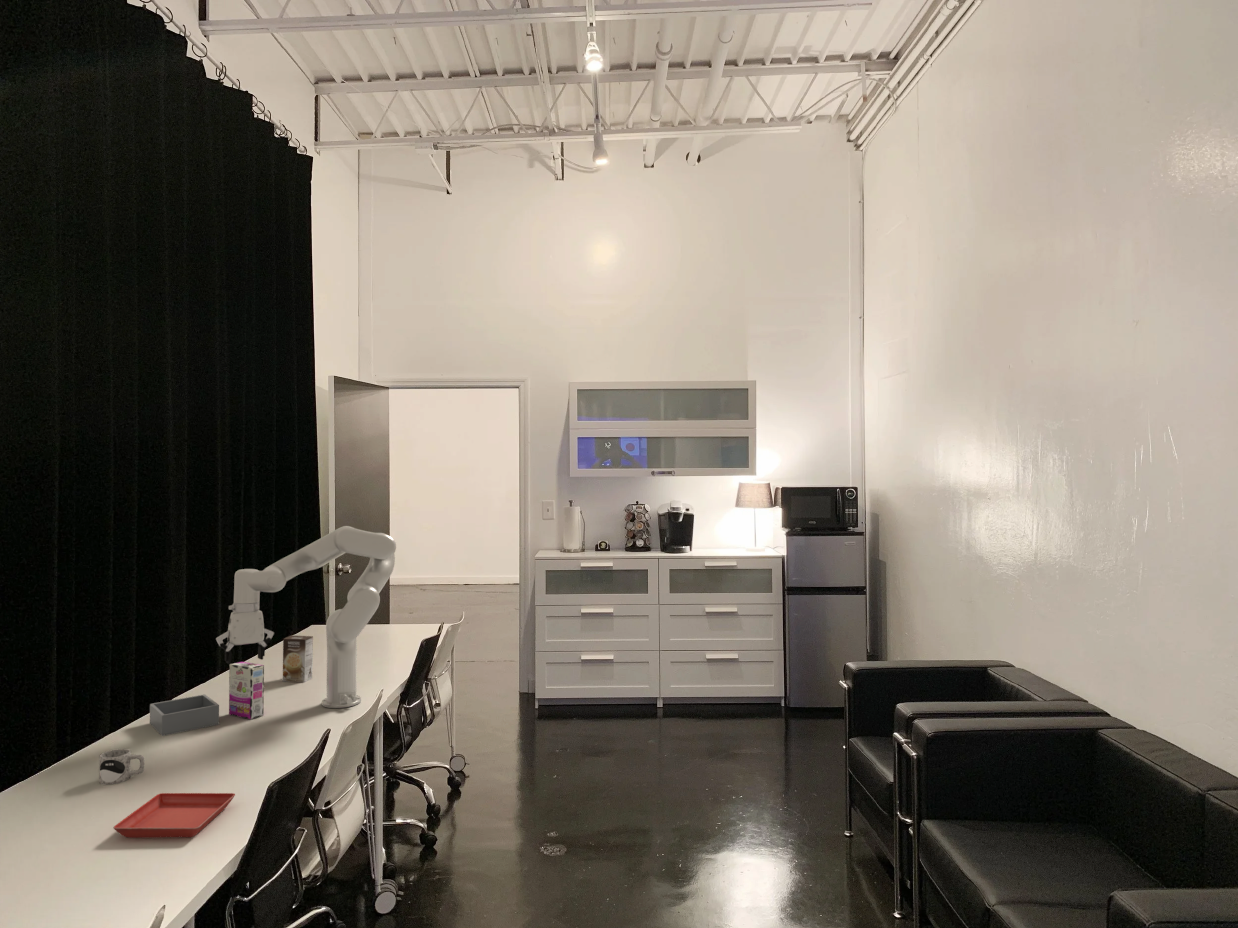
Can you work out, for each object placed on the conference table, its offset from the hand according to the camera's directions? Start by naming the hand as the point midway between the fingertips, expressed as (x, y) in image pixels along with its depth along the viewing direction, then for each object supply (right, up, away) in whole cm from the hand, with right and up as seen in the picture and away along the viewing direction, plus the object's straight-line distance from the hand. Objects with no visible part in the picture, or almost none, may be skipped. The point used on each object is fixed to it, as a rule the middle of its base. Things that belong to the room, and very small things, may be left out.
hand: (244, 660), depth 249 cm
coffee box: (-1, -18, +43) cm, 46 cm away
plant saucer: (+22, -18, -76) cm, 81 cm away
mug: (-6, -17, -51) cm, 55 cm away
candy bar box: (+1, -18, 0) cm, 18 cm away
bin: (-15, -17, -8) cm, 24 cm away
